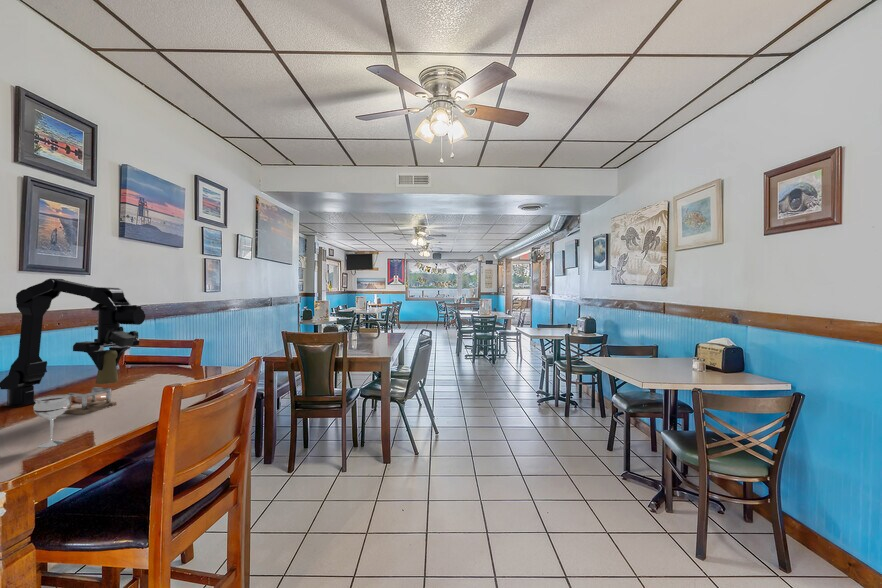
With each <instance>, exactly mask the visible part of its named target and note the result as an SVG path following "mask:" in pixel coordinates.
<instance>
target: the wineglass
mask: <svg viewBox="0 0 882 588" xmlns="http://www.w3.org/2000/svg"><path fill="white" fill-rule="evenodd" d="M69 396H70V395H67V394H51V395H45V396H44V395H43V396H40V397H36V398H34V401H35V402H36V403H34V405H33V408H32V409H33V412H34V414H36V415H37V416H38V417H40V418H45V419H47V420H48V421H49V440H48V441H47V440H46V441H45V442H41V443H39V444H37V448H50V447H56V446H59V445H61V444H64V443H65V440H60V439H53V435H54V422H55V419H57V418H58V417H59V416H61V415H63V414H65V413H64V412H65V411H66V410H68V408H69V406H70V401H69V400H68V398H69ZM63 442H64V443H63Z"/></svg>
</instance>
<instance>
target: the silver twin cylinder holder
mask: <svg viewBox="0 0 882 588" xmlns="http://www.w3.org/2000/svg"><path fill="white" fill-rule="evenodd" d="M90 390H91V391H90V392H88V393H77V392H76V393H75V392H68V393H67V394H66V395H70V396H69V398H68V400H69V401H70V406H69V408H68V409H70V408H71V407H72V398H76V397H80V398H82V403H81V408H82V410H87V407H88V406H87V397H90V396H91V402H96V395H98V394H102V393H106V400H105V401H106V403H111V402H112V397H111V394H112V389H111V388H110V387H96V386H95V387H92V388H91V389H90Z"/></svg>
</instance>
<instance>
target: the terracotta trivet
mask: <svg viewBox="0 0 882 588" xmlns="http://www.w3.org/2000/svg"><path fill="white" fill-rule="evenodd" d="M111 396H112V393H111ZM105 399H106V393H102V394H98V395H96V401H101V400H103V401H106V400H105ZM90 401H91V396H90V397H87V402H90ZM74 402H75V403H79V404H82V398H80V397H74Z"/></svg>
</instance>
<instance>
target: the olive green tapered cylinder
mask: <svg viewBox="0 0 882 588" xmlns="http://www.w3.org/2000/svg"><path fill="white" fill-rule="evenodd" d="M106 351H107V352H106V353H105V354H104V359H103V369H102V370H98V369H97V374H96V379H95V384H96V385H106V384H107V385H108V384H114V383H118V382H119V375H118V367H116V358H117V356H118V353H117V351H115V350H109V349H106Z"/></svg>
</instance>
